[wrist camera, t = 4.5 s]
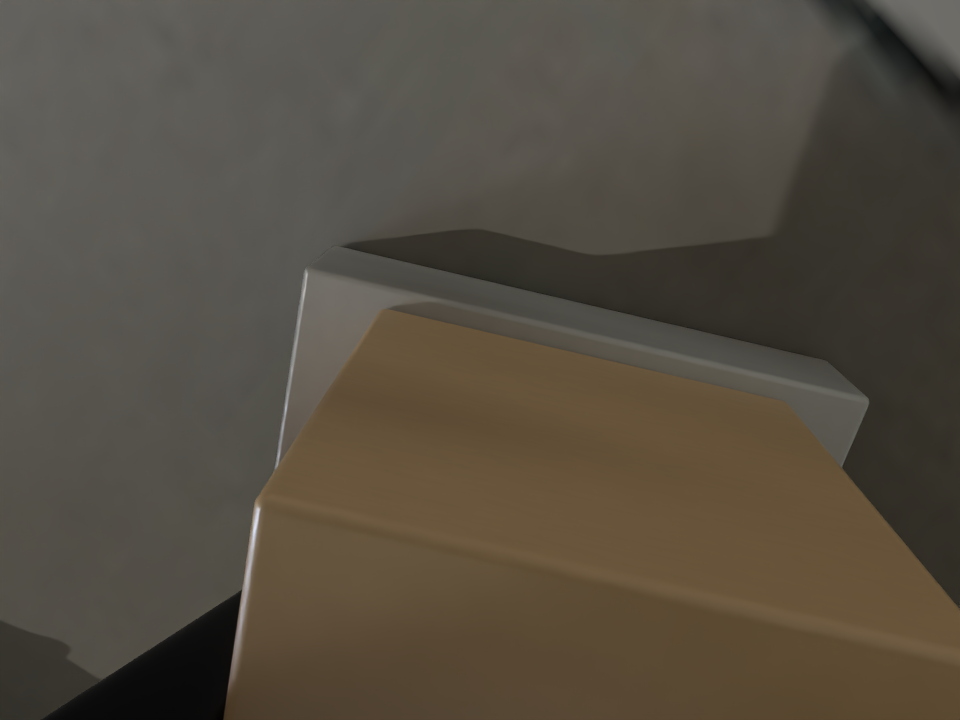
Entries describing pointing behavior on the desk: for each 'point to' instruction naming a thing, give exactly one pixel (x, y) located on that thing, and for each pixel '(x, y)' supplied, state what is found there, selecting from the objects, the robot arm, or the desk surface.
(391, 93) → the desk surface
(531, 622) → the tan block
